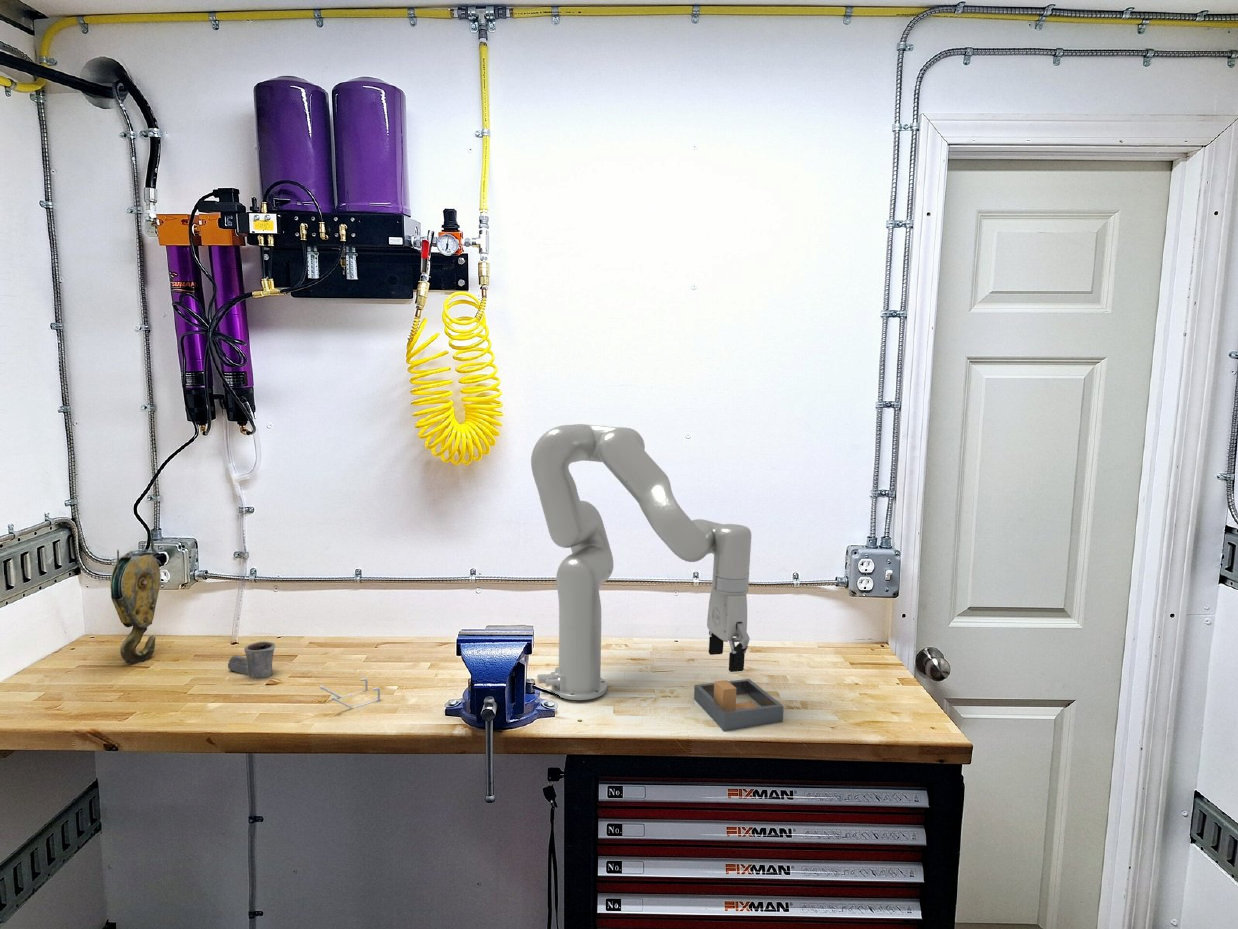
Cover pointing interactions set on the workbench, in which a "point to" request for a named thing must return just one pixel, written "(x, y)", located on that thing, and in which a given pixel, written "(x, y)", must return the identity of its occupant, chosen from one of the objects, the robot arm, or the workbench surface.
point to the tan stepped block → (728, 696)
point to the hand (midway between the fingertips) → (725, 662)
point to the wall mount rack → (351, 694)
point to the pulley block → (136, 599)
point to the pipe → (254, 660)
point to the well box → (742, 717)
